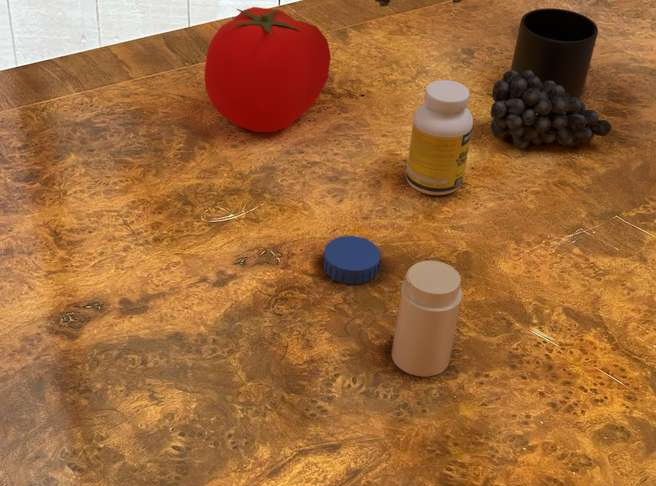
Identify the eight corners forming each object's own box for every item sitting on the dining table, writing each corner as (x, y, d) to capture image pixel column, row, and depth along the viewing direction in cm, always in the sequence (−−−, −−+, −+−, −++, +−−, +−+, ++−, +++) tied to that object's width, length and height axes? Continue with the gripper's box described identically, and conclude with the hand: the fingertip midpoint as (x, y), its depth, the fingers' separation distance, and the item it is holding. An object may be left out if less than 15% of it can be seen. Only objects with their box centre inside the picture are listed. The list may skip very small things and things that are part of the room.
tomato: (219, 155, 124) (219, 47, 115) (191, 96, 134) (189, -7, 125) (345, 137, 128) (355, 31, 119) (309, 82, 138) (316, -20, 129)
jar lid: (363, 292, 106) (365, 278, 105) (312, 272, 108) (313, 258, 107) (388, 261, 110) (390, 247, 109) (338, 242, 112) (340, 229, 111)
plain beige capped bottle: (440, 334, 101) (454, 255, 95) (457, 374, 97) (473, 294, 91) (384, 339, 101) (396, 259, 94) (399, 379, 97) (412, 299, 90)
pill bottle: (449, 204, 118) (465, 112, 110) (395, 186, 120) (407, 95, 112) (470, 175, 122) (487, 85, 114) (418, 159, 124) (431, 70, 117)
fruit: (625, 71, 123) (494, 52, 125) (622, 126, 119) (486, 105, 121) (605, 120, 130) (482, 102, 132) (602, 173, 126) (474, 154, 128)
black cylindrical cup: (579, 67, 142) (595, 3, 136) (583, 112, 133) (600, 46, 128) (508, 59, 144) (521, -5, 138) (507, 103, 135) (520, 37, 129)
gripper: (352, -153, 115) (368, -7, 114) (479, -157, 117) (495, -13, 116) (338, -121, 123) (352, 17, 122) (457, -125, 125) (472, 11, 124)
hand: (422, 2), depth 119 cm, fingers open, 8 cm apart
